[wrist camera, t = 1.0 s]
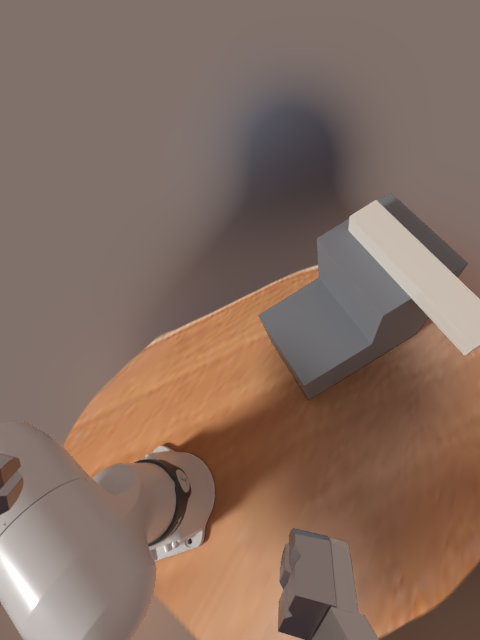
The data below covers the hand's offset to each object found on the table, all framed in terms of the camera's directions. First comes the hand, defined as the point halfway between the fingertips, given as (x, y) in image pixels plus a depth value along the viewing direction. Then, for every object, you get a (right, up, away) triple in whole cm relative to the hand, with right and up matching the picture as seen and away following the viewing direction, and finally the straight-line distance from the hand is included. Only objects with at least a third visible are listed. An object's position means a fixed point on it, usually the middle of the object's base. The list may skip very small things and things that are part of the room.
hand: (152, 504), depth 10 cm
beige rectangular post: (+24, +11, +32) cm, 41 cm away
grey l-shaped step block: (+22, +2, +58) cm, 62 cm away
